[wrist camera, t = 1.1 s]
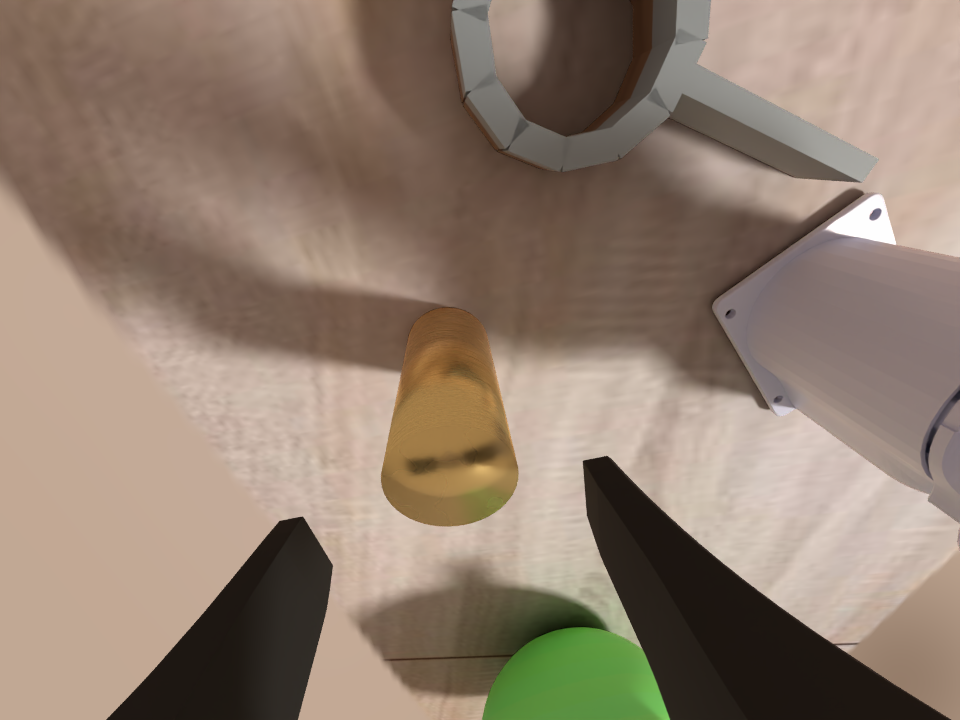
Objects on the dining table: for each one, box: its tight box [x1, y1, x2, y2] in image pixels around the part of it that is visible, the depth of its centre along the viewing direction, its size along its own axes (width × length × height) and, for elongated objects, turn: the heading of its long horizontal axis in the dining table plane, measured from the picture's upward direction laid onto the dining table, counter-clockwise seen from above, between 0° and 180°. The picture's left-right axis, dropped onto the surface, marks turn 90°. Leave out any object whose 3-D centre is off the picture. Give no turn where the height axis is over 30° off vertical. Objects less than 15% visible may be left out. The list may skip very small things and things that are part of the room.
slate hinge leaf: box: [451, 0, 879, 183], centre depth 14 cm, size 14×10×3 cm
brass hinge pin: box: [381, 307, 518, 526], centre depth 15 cm, size 4×4×9 cm
